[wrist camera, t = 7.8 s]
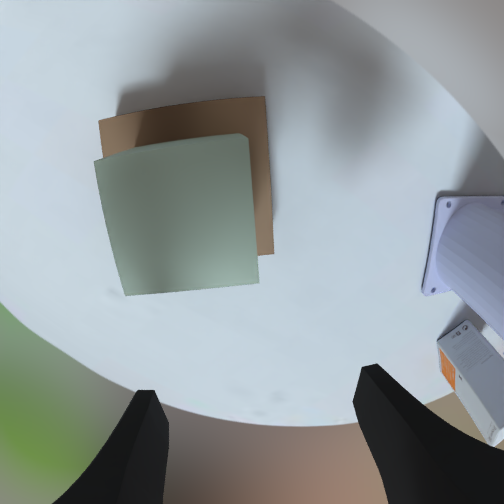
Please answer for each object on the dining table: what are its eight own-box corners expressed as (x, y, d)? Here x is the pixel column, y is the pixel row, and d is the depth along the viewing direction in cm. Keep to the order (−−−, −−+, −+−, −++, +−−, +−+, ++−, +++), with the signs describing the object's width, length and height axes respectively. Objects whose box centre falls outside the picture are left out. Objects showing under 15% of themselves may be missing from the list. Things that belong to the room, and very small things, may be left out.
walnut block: (257, 100, 15) (264, 96, 13) (266, 233, 19) (274, 253, 16) (117, 119, 15) (98, 120, 12) (139, 247, 18) (126, 269, 16)
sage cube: (239, 133, 13) (248, 138, 9) (248, 233, 15) (259, 283, 11) (134, 147, 13) (93, 161, 9) (151, 244, 15) (125, 295, 11)
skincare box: (434, 341, 24) (500, 430, 14) (467, 317, 24) (537, 396, 13) (438, 372, 27) (490, 450, 16) (467, 351, 26) (523, 423, 16)
